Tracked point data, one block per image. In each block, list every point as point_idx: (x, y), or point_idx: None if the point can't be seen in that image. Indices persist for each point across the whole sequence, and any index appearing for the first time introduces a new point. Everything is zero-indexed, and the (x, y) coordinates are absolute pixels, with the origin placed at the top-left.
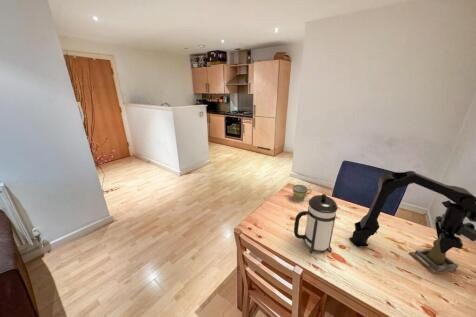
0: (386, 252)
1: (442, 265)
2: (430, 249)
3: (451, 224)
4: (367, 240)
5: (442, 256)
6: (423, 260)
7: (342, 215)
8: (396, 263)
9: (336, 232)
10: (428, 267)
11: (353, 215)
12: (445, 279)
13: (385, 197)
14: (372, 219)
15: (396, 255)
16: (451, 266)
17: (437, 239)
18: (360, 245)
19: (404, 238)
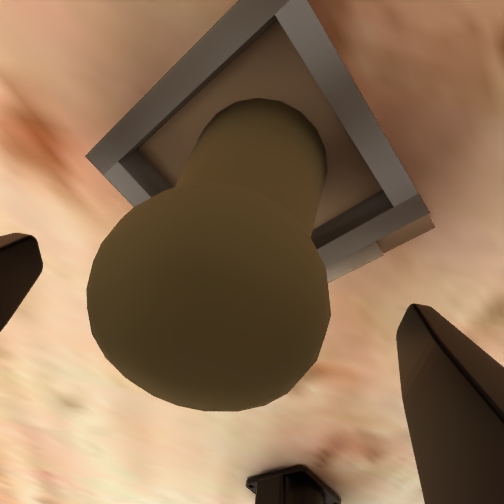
0: (312, 409)
1: (364, 157)
2: (135, 197)
3: None
4: (282, 493)
5: (308, 195)
6: (331, 276)
7: (101, 499)
8: (398, 388)
9: None
10: (381, 240)
11: (57, 468)
12: (475, 129)
13: None
14: None
15: (314, 373)
16: (339, 58)
17: (121, 373)
18: (324, 495)
19: (73, 294)
